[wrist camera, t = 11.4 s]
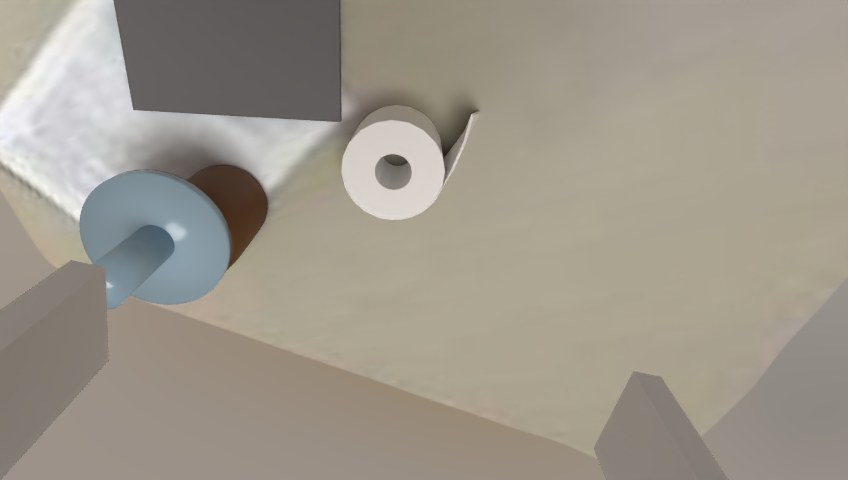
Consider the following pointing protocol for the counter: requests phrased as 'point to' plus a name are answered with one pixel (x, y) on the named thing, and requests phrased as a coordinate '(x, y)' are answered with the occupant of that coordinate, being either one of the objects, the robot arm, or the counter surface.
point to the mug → (234, 202)
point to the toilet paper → (398, 185)
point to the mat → (233, 57)
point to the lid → (155, 238)
